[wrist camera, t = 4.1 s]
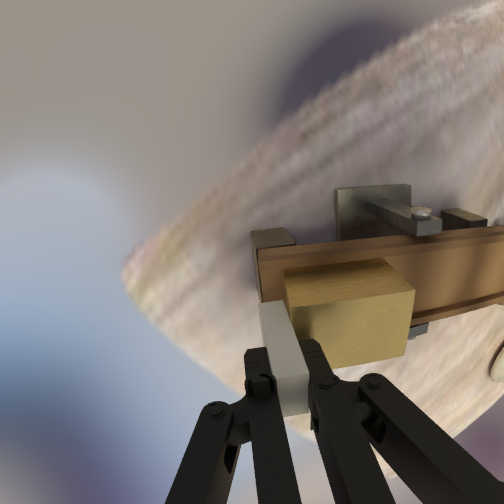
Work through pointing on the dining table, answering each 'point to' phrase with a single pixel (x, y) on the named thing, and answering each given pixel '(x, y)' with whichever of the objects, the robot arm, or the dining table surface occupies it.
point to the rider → (350, 309)
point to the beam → (410, 267)
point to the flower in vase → (498, 368)
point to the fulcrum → (375, 223)
